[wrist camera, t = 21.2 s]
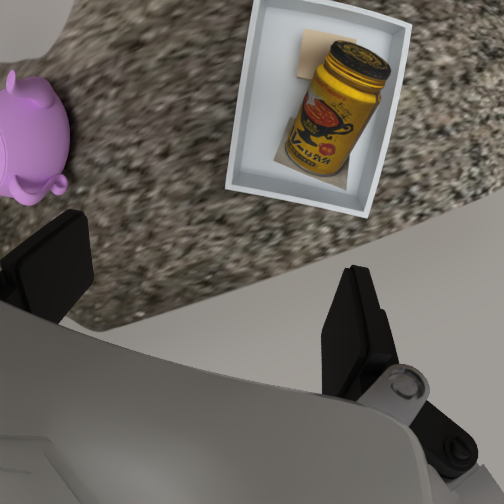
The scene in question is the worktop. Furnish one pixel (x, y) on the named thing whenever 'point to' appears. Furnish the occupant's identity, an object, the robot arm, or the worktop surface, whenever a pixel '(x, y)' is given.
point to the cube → (315, 51)
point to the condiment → (334, 113)
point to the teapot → (32, 140)
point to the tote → (291, 97)
